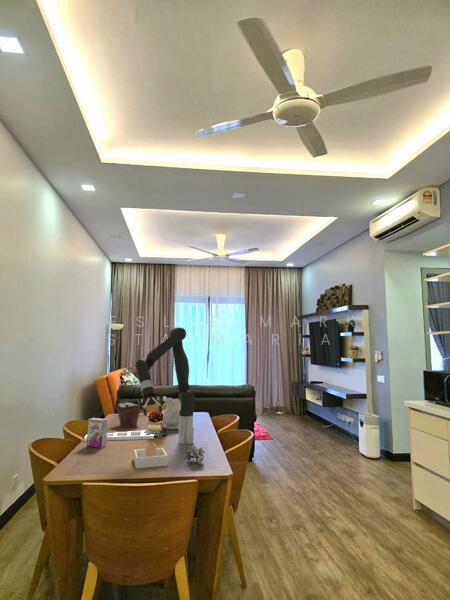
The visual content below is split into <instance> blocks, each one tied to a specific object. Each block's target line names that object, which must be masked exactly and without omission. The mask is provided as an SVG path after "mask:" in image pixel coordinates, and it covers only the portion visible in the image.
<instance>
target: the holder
mask: <svg viewBox="0 0 450 600" xmlns="http://www.w3.org/2000/svg"><path fill="white" fill-rule="evenodd" d="M146 430H147V429H141V430H128V431H114V432H107V437H106V441H127V440H128V441H130V440H131V441H132V440H133V441H134V440H154V439H155V433H154V434H150V435H146V434H147V433H144V432H145V431H146ZM83 442H87V434H85V436H84V437H83Z"/></svg>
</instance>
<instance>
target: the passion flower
mask: <svg viewBox="0 0 450 600" xmlns="http://www.w3.org/2000/svg"><path fill="white" fill-rule="evenodd" d="M190 447H191V450H189V451H188V452H187V450H185V451H184V453H185V455H186V456H185V457H184V458H183V461H185V460H186V459H187V460H186V464H188V463H189V462H190V461H191V459H193V460H194V459H195V461H196V462H197V464H198V465H199V466H203V462H204V460H205V459H204V458H205V450H203V447H198V446H195V445H191V444H190Z"/></svg>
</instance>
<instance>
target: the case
mask: <svg viewBox="0 0 450 600" xmlns="http://www.w3.org/2000/svg"><path fill="white" fill-rule="evenodd" d="M116 411H117V413H118V419H119V425H120V427H122V428H133V427H134V428H135V427H137V426H138V425H137V424H138V420H139V417H140V413H143V410H139V405H138V404H136V403H132V402H130V401H120V402H119V403H118V404H117V408H116Z"/></svg>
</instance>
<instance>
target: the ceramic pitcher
mask: <svg viewBox="0 0 450 600" xmlns="http://www.w3.org/2000/svg"><path fill="white" fill-rule="evenodd" d="M162 400H163V402H165V406H166V407H165V408H164V410H162V413H163V423H162V424H163V425H165V427H164V430H166V429H169V430H179V411H180V409H181V402H180V400H179V398H172V397H167V396H166V395H164V396H162Z"/></svg>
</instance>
